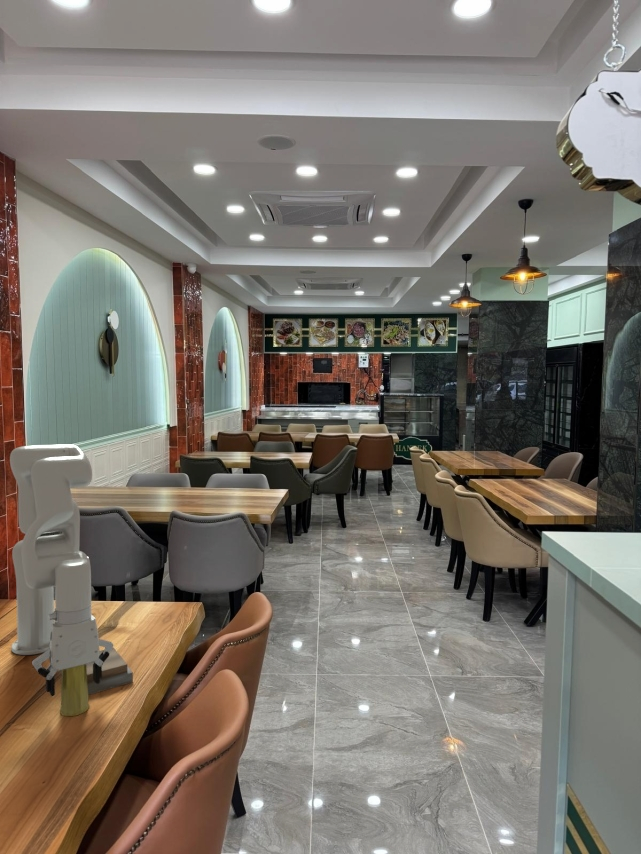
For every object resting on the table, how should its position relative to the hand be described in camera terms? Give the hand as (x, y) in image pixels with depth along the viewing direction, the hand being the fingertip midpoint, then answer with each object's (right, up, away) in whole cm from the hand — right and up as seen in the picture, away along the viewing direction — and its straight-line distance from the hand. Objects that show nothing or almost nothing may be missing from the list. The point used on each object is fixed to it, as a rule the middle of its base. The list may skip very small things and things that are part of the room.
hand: (74, 687), depth 130 cm
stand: (-1, -5, +15) cm, 15 cm away
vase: (0, -5, 0) cm, 5 cm away
